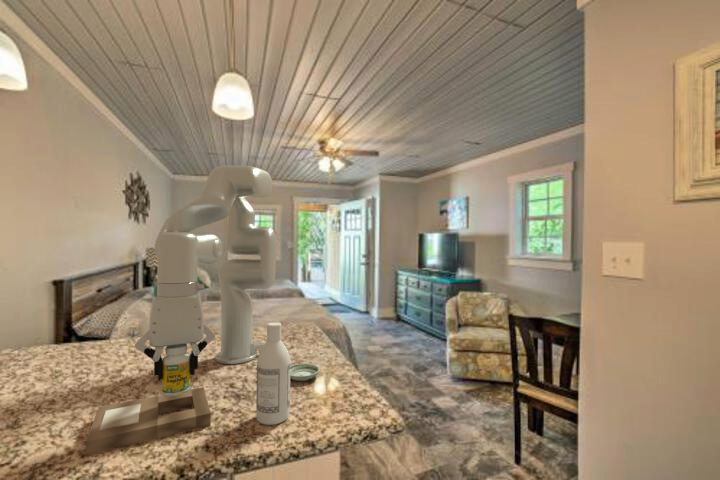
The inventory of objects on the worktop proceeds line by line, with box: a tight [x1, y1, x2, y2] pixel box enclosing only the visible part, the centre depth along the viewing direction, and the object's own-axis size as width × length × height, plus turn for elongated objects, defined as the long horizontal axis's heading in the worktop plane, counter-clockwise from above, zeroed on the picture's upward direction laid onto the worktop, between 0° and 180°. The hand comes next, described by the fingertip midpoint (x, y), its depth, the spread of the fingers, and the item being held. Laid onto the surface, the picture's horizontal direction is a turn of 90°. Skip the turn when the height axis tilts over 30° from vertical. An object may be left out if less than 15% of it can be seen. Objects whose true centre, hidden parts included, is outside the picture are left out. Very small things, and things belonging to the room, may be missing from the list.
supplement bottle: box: [161, 344, 191, 396], centre depth 72 cm, size 5×5×10 cm
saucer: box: [290, 363, 321, 382], centre depth 93 cm, size 10×10×2 cm
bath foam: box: [255, 322, 291, 426], centre depth 72 cm, size 7×7×20 cm
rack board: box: [85, 386, 212, 457], centre depth 70 cm, size 20×14×3 cm
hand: (176, 374), depth 72 cm, fingers closed on supplement bottle, 5 cm apart
